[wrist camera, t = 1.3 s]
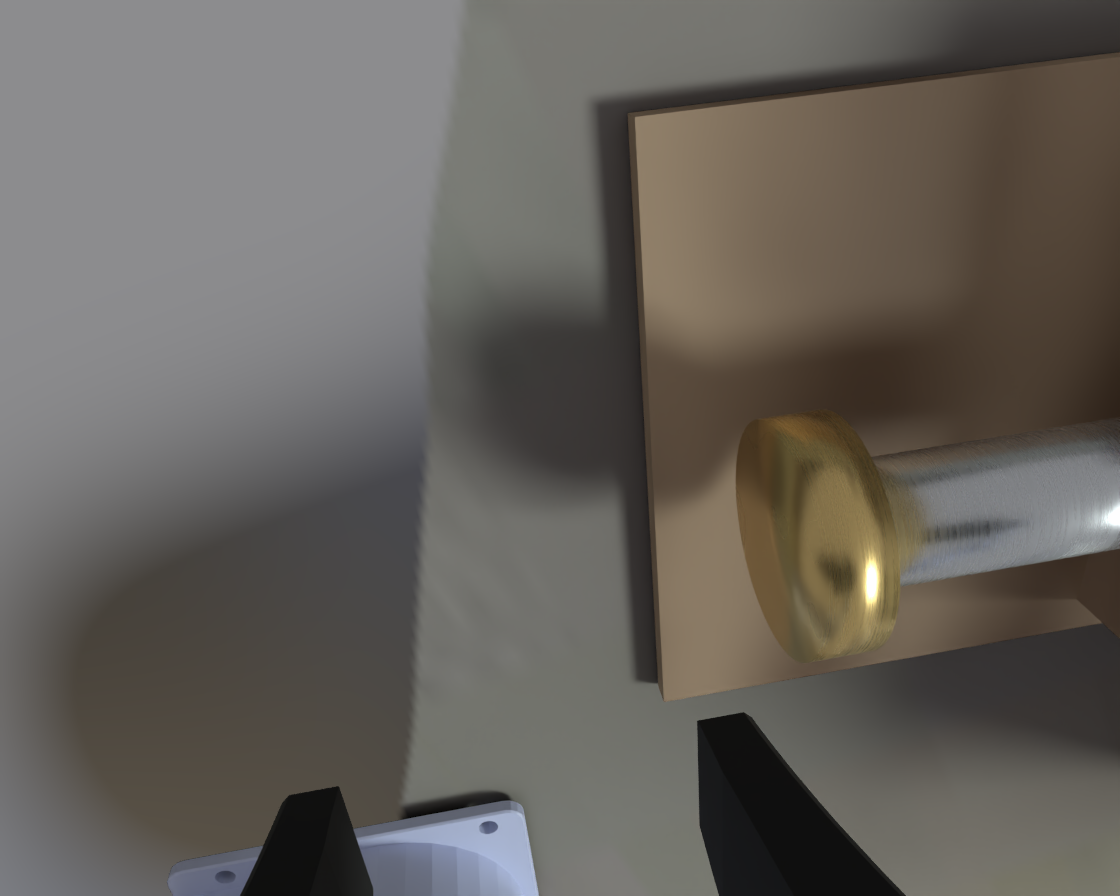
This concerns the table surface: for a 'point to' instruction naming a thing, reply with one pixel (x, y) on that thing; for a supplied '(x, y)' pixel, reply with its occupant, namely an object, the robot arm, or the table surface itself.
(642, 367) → the bearing block
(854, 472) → the shaft
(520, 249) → the table surface
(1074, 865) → the table surface
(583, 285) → the table surface
